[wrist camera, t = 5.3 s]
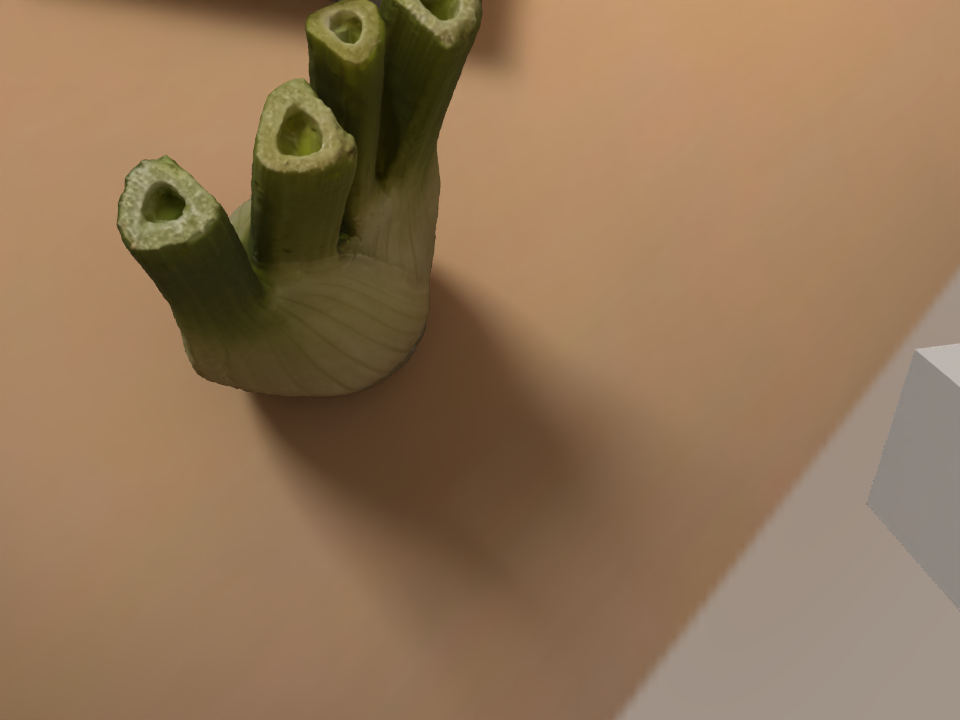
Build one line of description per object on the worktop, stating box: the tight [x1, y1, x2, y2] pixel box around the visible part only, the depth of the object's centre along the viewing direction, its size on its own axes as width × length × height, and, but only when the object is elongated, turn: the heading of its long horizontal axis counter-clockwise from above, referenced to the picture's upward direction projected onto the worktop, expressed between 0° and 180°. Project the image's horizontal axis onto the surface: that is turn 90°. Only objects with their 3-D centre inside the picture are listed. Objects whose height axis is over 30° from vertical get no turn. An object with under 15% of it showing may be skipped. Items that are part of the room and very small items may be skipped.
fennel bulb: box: [117, 0, 482, 397], centre depth 17 cm, size 6×5×12 cm
